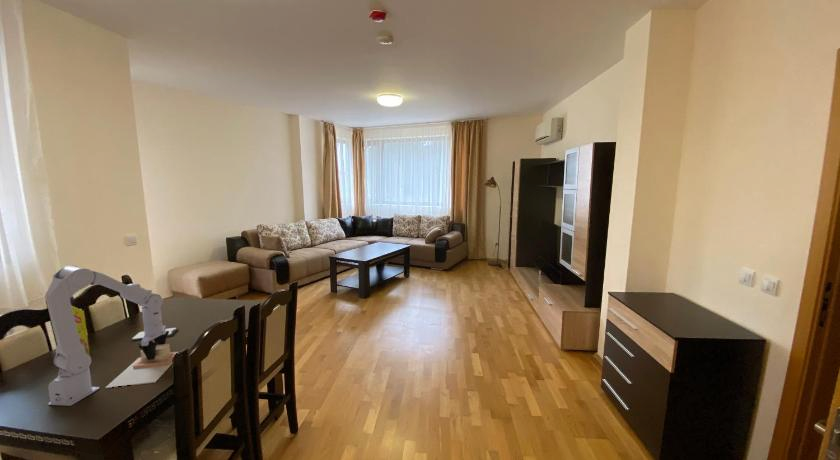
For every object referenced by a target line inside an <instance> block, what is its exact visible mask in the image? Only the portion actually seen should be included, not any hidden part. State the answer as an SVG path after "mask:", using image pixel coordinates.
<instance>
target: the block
mask: <svg viewBox="0 0 840 460" xmlns="http://www.w3.org/2000/svg"><path fill="white" fill-rule="evenodd" d="M170 352H171V347H170V343H165V344H160V345H157V346H156V350H155V359H153V360H148V359H147V358H146V355H145V353H144V352H143V351H142V350H141V349H140V357H141V361H142V364H144V363H154V362H163V361H168V359H169V358H170V357H171V355H170Z"/></svg>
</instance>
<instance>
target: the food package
mask: <svg viewBox="0 0 840 460" xmlns="http://www.w3.org/2000/svg"><path fill="white" fill-rule="evenodd" d="M71 306H72V310H73V314H74V318H75V323H76V327H77V331H78V335H79V339H80V343H81V344H82V346H83V347H84V349H85V352H86V353H87V354H88V355H89V356H90V346H89V338H88V333H87V325H86V324H87V323H86V322H87V321H86V316H85V310H83V309H80V308H78V307H75V306H74V305H71ZM90 357H91V356H90Z"/></svg>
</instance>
